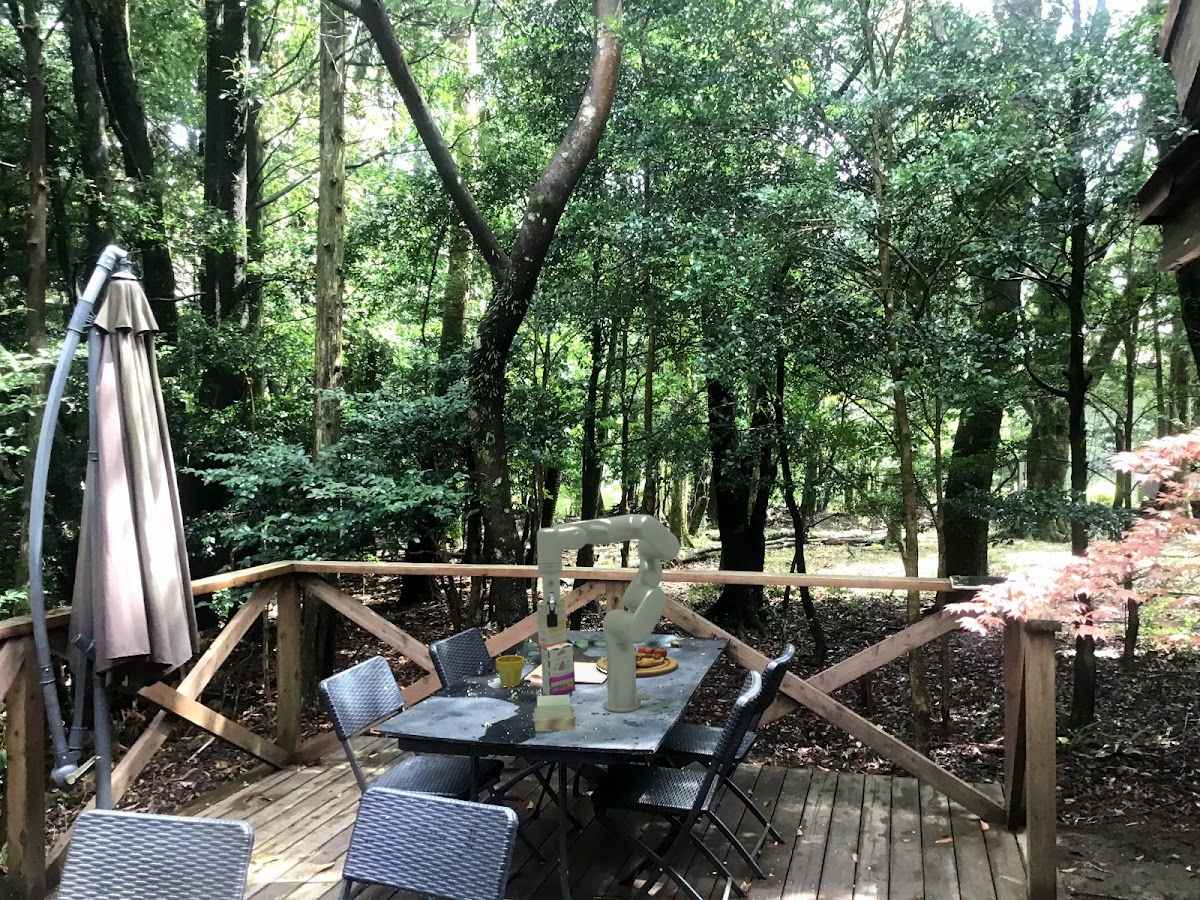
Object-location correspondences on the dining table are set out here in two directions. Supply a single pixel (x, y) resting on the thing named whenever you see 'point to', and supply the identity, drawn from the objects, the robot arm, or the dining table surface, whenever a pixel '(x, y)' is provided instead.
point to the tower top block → (553, 707)
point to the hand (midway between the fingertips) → (551, 623)
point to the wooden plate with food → (648, 662)
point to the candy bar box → (558, 669)
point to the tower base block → (554, 723)
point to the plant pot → (510, 669)
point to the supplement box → (551, 634)
